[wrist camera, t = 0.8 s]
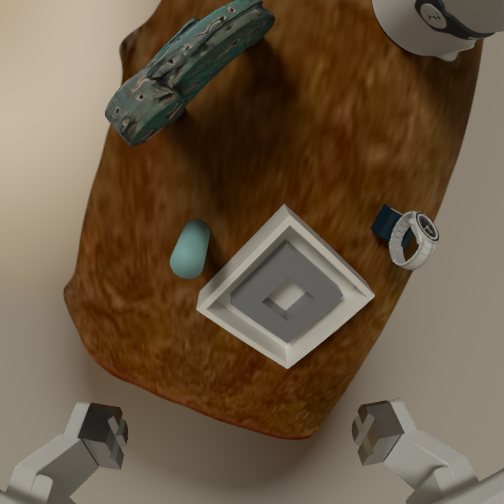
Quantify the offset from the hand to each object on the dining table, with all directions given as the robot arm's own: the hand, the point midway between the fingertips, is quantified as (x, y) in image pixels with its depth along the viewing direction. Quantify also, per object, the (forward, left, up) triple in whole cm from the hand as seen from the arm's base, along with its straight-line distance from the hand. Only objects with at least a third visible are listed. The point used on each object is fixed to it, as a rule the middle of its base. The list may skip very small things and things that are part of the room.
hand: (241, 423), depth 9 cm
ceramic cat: (-8, -14, -37) cm, 41 cm away
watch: (-11, +21, -37) cm, 45 cm away
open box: (+8, +16, -37) cm, 41 cm away
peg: (+10, 0, -37) cm, 38 cm away
